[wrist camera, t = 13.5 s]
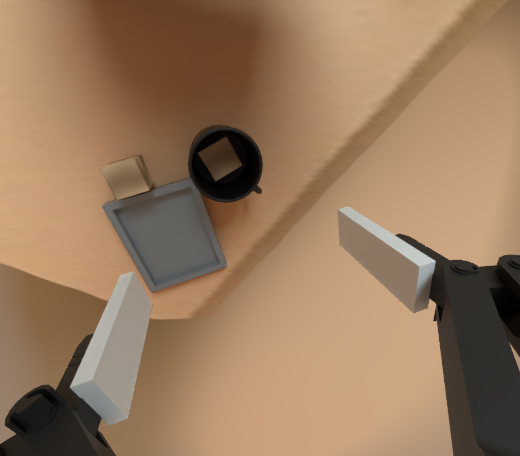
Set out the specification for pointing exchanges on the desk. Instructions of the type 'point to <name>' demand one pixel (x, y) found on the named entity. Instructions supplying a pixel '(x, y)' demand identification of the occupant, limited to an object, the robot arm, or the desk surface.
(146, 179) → the oak block
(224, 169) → the walnut block
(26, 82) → the desk surface
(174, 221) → the tray
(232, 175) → the mug
